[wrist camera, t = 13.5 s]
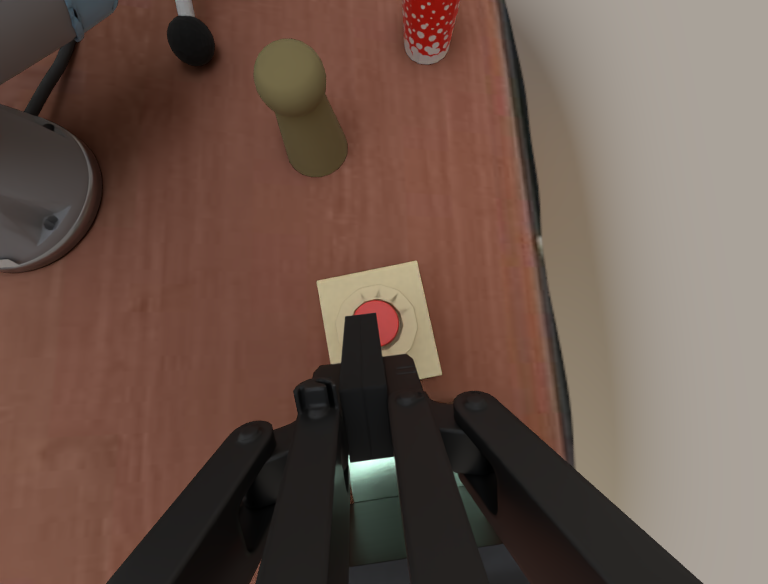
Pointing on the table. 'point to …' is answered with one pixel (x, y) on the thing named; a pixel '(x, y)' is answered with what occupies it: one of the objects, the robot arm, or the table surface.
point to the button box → (398, 291)
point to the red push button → (382, 319)
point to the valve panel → (376, 479)
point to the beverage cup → (428, 28)
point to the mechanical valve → (190, 36)
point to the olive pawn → (301, 106)
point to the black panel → (388, 551)
